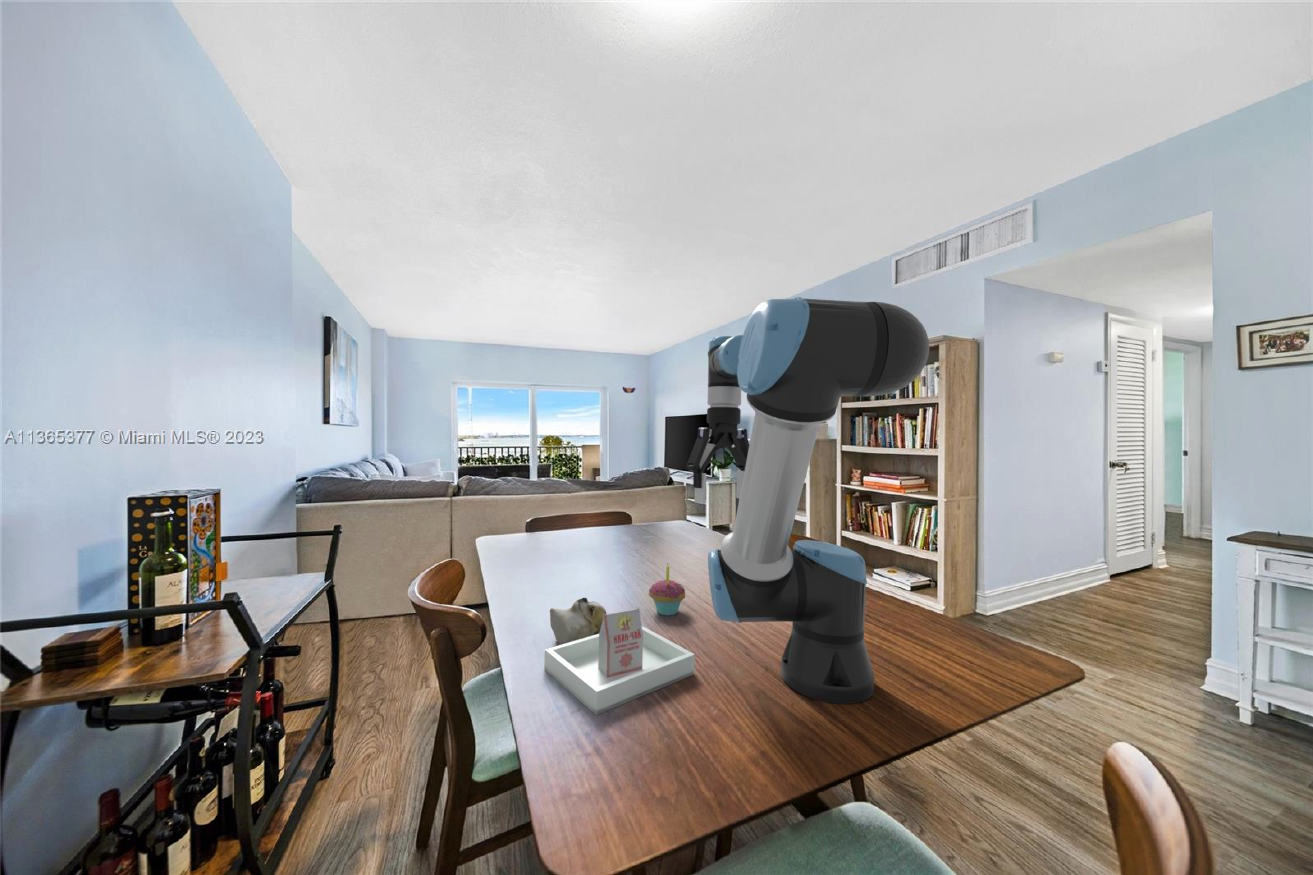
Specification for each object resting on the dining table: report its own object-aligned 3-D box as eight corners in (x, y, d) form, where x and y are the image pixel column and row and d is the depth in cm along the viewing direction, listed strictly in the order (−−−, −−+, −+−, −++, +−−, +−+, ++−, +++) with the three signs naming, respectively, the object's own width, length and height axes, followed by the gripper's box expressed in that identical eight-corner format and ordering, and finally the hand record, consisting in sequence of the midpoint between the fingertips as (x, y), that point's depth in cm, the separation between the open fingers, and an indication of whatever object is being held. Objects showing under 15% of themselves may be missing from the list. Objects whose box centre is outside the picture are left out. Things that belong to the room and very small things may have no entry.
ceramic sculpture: (543, 592, 98) (611, 586, 106) (540, 634, 98) (608, 626, 105) (558, 610, 89) (632, 603, 96) (555, 657, 89) (628, 646, 96)
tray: (694, 674, 84) (694, 654, 84) (596, 715, 71) (596, 691, 71) (635, 640, 97) (636, 622, 97) (544, 669, 84) (544, 649, 84)
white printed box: (598, 667, 84) (599, 611, 84) (632, 659, 88) (634, 604, 87) (606, 677, 81) (608, 618, 81) (642, 668, 84) (643, 611, 84)
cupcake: (685, 619, 108) (687, 566, 108) (648, 618, 109) (649, 565, 108) (684, 605, 117) (685, 556, 117) (649, 604, 117) (650, 555, 117)
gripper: (747, 409, 120) (744, 495, 120) (671, 404, 104) (668, 502, 104) (771, 409, 114) (769, 498, 114) (695, 403, 98) (693, 507, 98)
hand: (721, 500), depth 109 cm, fingers open, 13 cm apart
